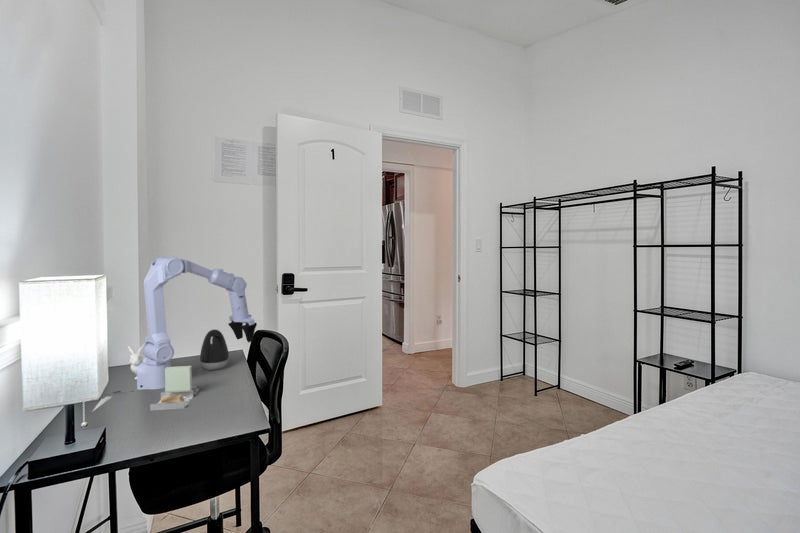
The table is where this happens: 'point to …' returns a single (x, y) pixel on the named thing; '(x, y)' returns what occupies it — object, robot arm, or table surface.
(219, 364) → the black egg shaped speaker
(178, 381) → the pale green rectangular block
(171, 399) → the offcut upper
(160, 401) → the offcut lower
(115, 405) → the table surface
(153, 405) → the rack
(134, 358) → the rabbit
